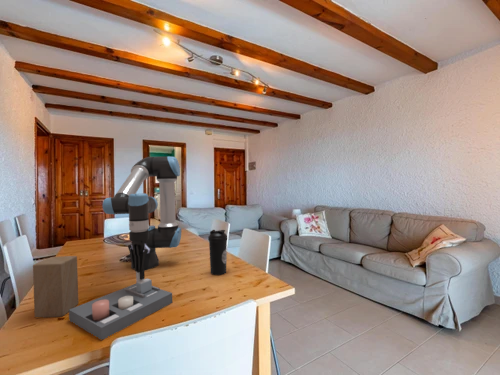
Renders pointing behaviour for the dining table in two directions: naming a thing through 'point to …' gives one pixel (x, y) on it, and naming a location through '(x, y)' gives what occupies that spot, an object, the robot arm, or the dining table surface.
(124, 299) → the button ivory
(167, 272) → the dining table surface
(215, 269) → the water bottle
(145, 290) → the slider knob
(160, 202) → the robot arm
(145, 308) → the console
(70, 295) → the wooden block
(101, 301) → the button coral
